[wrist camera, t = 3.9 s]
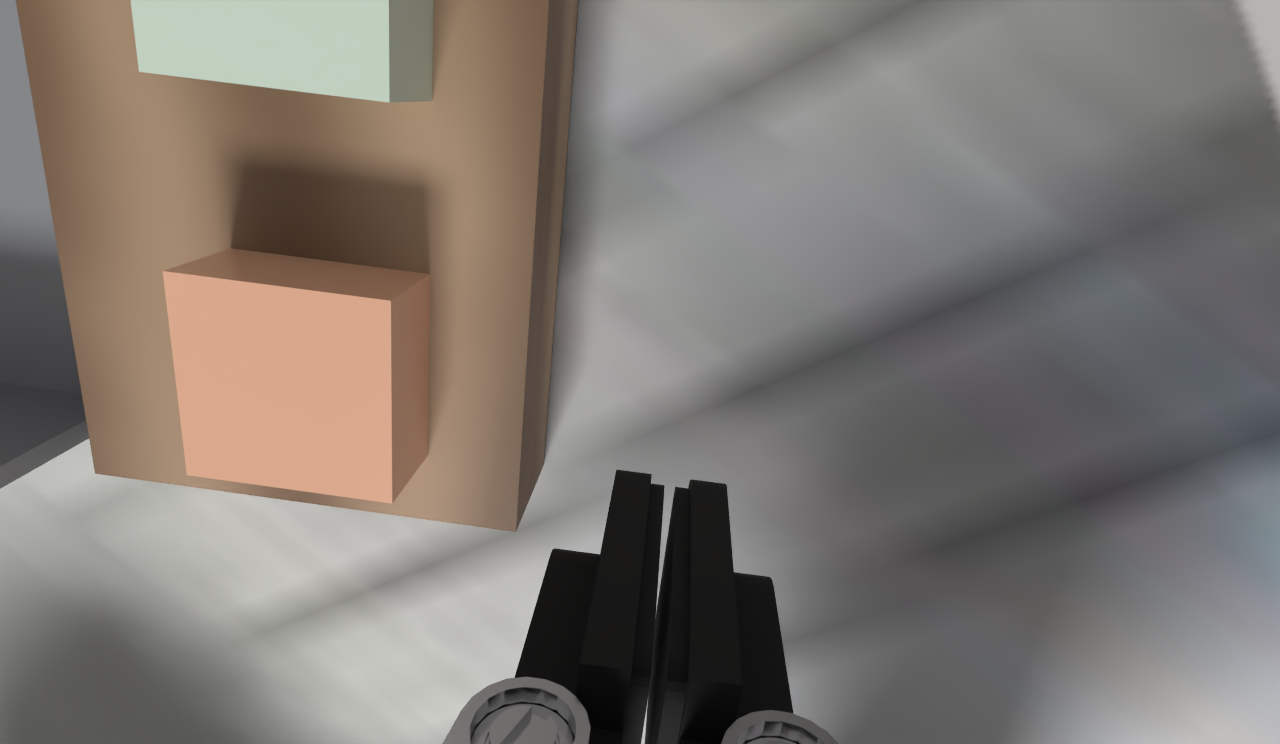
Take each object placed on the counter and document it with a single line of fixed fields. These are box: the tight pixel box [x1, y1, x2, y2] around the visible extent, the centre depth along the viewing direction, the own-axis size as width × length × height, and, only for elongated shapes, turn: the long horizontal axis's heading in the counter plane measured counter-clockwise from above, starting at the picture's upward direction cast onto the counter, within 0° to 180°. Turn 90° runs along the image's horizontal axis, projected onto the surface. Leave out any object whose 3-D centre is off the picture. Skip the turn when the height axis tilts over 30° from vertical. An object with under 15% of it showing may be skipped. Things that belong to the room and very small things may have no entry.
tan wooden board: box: [16, 0, 579, 532], centre depth 20 cm, size 12×18×4 cm, turn 173°
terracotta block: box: [163, 248, 430, 504], centre depth 18 cm, size 5×5×2 cm
